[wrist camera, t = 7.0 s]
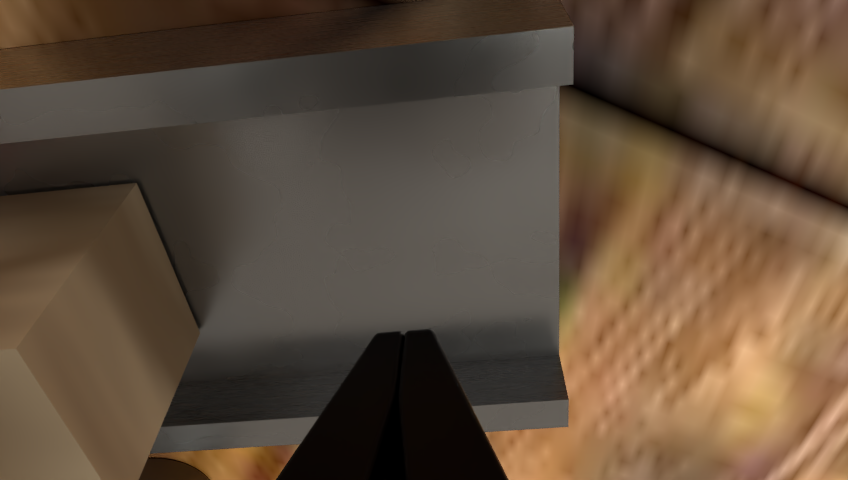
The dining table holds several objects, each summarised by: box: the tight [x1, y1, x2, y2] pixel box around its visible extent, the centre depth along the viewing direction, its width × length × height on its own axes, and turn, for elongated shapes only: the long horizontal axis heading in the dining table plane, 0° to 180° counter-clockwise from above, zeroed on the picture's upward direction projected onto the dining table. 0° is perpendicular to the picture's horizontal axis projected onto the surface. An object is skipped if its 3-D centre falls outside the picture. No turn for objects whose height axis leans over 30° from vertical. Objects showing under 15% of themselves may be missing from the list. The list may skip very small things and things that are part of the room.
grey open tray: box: [0, 0, 574, 454], centre depth 14 cm, size 14×10×6 cm
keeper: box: [0, 183, 200, 480], centre depth 14 cm, size 4×4×5 cm
